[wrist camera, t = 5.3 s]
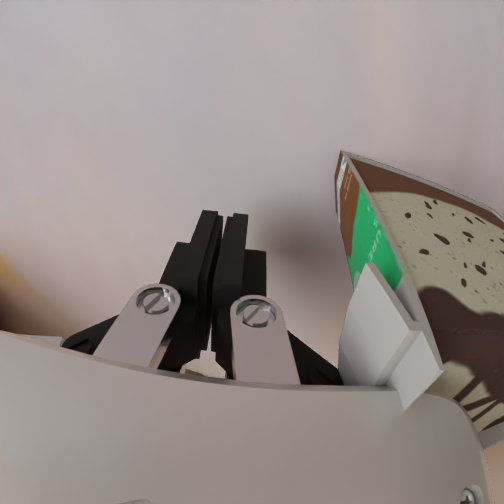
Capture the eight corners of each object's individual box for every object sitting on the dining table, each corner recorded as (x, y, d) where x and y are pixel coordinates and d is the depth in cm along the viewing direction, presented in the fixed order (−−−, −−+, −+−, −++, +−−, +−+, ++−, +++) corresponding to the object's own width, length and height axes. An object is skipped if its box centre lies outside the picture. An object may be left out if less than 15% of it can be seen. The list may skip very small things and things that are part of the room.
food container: (268, 266, 15) (268, 488, 6) (304, 140, 11) (407, 371, 3) (457, 299, 16) (521, 437, 7) (506, 216, 12) (613, 346, 4)
